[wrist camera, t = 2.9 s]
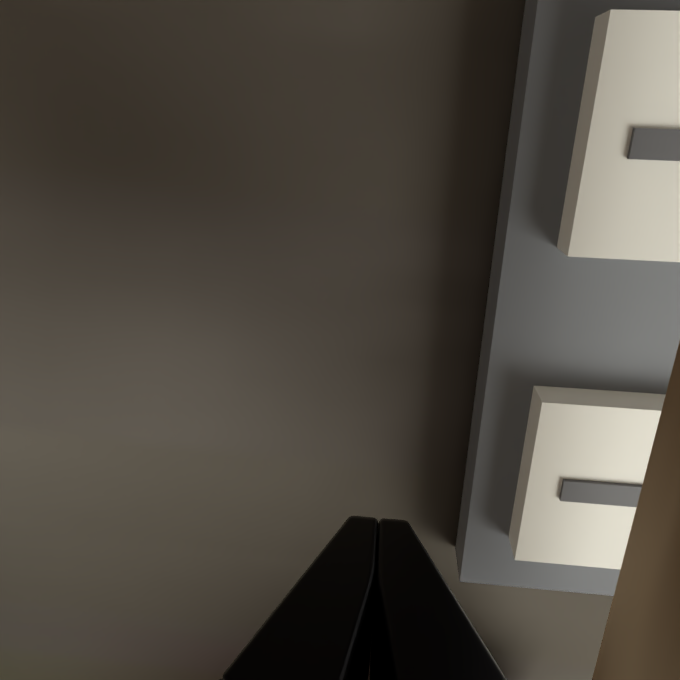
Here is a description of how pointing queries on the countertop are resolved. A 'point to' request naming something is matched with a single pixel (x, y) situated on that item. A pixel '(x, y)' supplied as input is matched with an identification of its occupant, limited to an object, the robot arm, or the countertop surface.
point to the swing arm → (650, 566)
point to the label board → (577, 298)
